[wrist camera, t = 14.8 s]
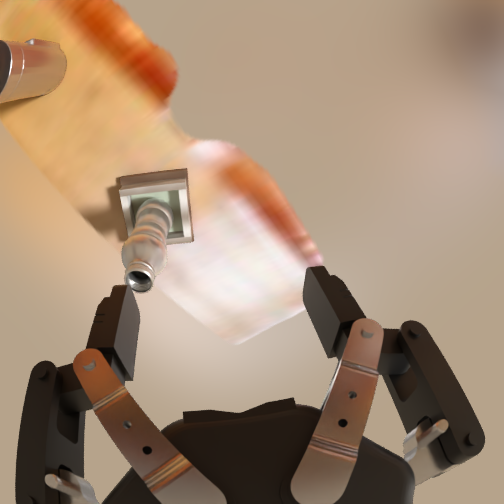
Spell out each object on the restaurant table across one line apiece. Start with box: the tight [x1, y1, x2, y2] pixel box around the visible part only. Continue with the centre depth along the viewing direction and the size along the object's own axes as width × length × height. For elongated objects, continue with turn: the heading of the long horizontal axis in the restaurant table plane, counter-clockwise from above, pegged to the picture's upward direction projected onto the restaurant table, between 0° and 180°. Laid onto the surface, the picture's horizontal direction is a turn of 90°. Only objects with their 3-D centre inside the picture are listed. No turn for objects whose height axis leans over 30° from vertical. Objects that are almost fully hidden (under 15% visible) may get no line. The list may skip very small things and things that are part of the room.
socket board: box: [119, 168, 194, 245], centre depth 47 cm, size 14×12×4 cm
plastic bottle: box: [121, 198, 174, 293], centre depth 40 cm, size 6×7×20 cm
